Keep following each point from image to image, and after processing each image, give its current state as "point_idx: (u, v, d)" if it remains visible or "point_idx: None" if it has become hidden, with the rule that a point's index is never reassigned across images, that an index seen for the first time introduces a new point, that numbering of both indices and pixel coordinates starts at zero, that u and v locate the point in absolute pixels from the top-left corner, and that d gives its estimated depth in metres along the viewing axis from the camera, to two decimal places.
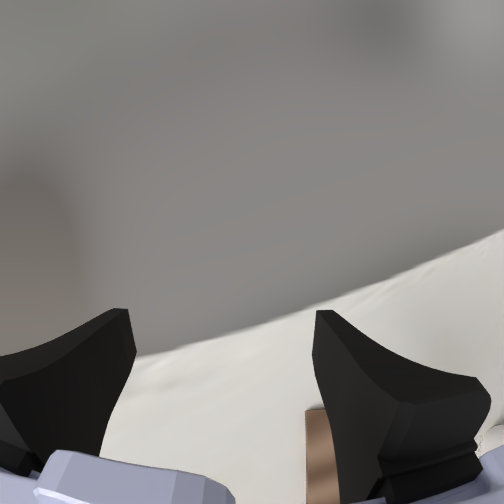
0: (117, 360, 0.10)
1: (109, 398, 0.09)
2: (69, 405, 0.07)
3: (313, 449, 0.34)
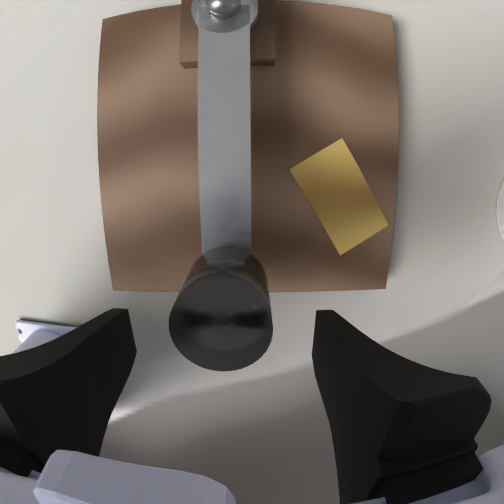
0: (117, 360, 0.10)
1: (109, 398, 0.09)
2: (69, 405, 0.07)
3: (107, 93, 0.16)
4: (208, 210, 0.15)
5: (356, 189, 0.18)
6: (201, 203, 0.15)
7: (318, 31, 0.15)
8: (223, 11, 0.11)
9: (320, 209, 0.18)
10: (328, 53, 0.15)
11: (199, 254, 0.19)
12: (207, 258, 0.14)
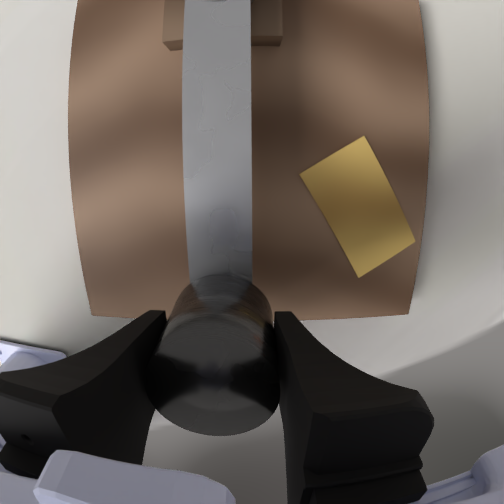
0: None
1: (150, 403, 0.09)
2: (118, 414, 0.07)
3: (80, 84, 0.13)
4: (196, 228, 0.12)
5: (380, 198, 0.14)
6: (187, 219, 0.11)
7: (333, 7, 0.12)
8: None
9: (336, 222, 0.15)
10: (346, 33, 0.12)
11: (189, 277, 0.16)
12: (195, 292, 0.11)
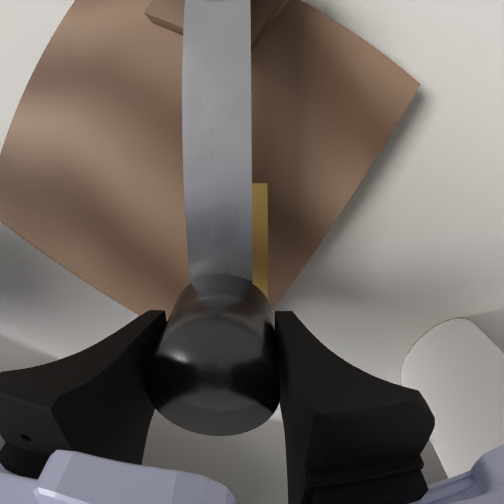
0: None
1: (149, 403, 0.09)
2: (117, 414, 0.07)
3: (75, 14, 0.11)
4: (196, 228, 0.12)
5: None
6: (187, 219, 0.11)
7: (319, 53, 0.12)
8: None
9: None
10: (313, 82, 0.13)
11: (63, 221, 0.15)
12: (195, 292, 0.11)
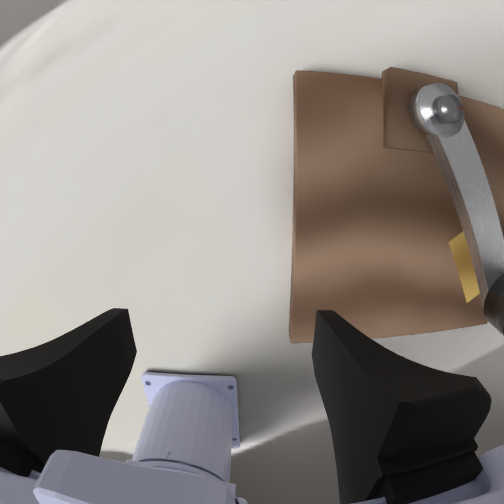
0: (117, 360, 0.10)
1: (109, 398, 0.09)
2: (69, 405, 0.07)
3: (309, 157, 0.18)
4: (487, 263, 0.17)
5: None
6: (483, 262, 0.17)
7: (474, 127, 0.17)
8: (458, 121, 0.14)
9: (462, 270, 0.20)
10: (479, 147, 0.18)
11: (376, 309, 0.21)
12: (502, 292, 0.16)
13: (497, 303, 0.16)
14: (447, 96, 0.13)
